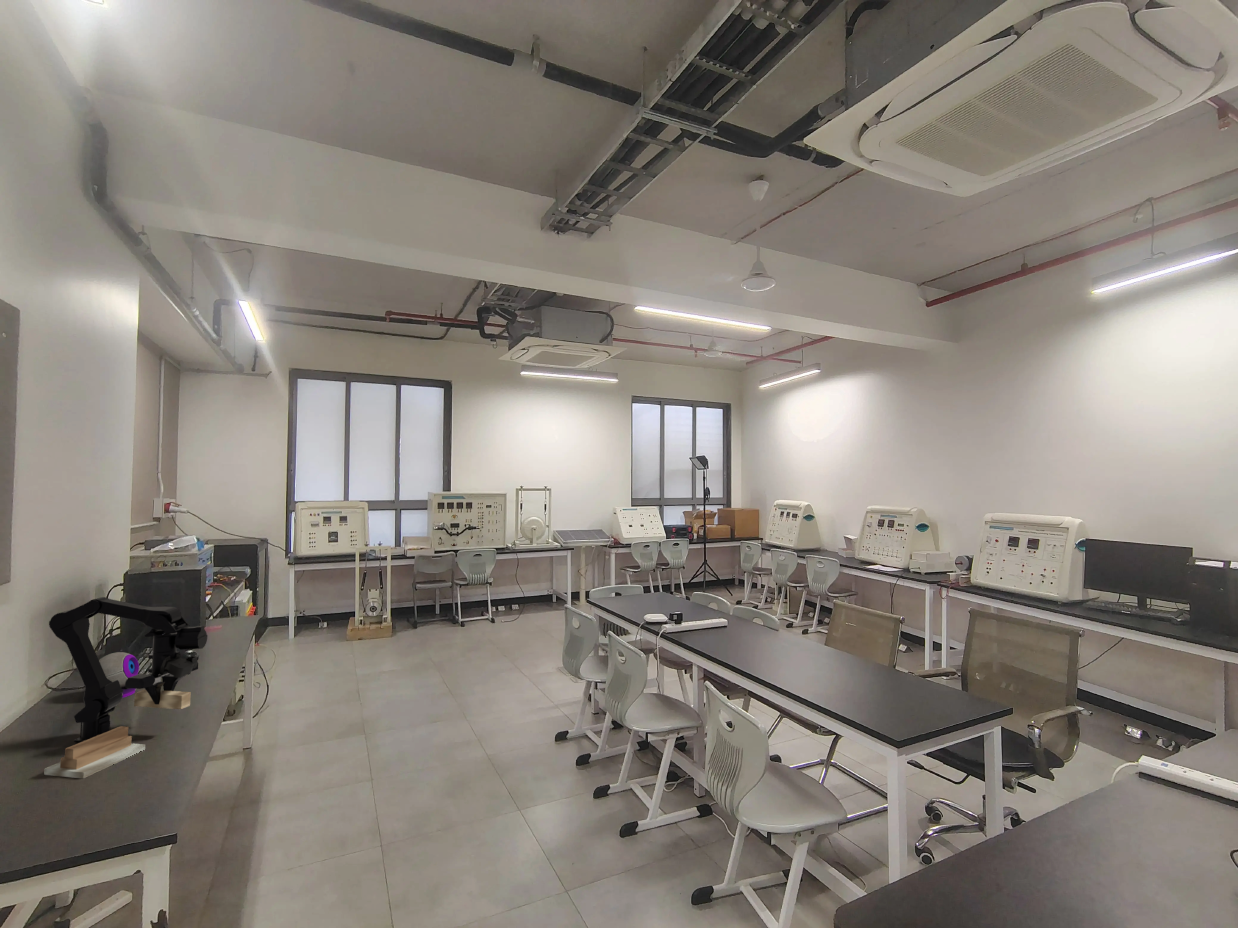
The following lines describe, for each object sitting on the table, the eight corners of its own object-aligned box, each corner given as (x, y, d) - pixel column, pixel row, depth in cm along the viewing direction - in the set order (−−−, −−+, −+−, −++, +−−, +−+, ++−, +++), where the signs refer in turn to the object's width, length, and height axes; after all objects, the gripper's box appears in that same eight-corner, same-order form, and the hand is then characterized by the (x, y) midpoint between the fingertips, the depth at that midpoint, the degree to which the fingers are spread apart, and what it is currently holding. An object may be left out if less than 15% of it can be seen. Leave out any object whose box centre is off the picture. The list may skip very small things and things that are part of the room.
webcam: (124, 700, 195) (127, 656, 196) (79, 703, 192) (82, 659, 192) (144, 687, 208) (146, 646, 208) (102, 690, 204) (104, 649, 205)
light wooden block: (134, 706, 169) (134, 692, 169) (143, 702, 172) (144, 689, 172) (181, 709, 167) (181, 695, 167) (190, 705, 170) (190, 691, 170)
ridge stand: (44, 774, 144) (45, 748, 145) (109, 746, 160) (110, 723, 160) (83, 778, 143) (84, 752, 143) (145, 749, 158) (146, 726, 159)
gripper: (158, 660, 160) (155, 716, 159) (214, 643, 178) (212, 692, 178) (124, 658, 162) (122, 713, 161) (183, 641, 180) (181, 690, 179)
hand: (162, 702), depth 170 cm, fingers closed on light wooden block, 3 cm apart
